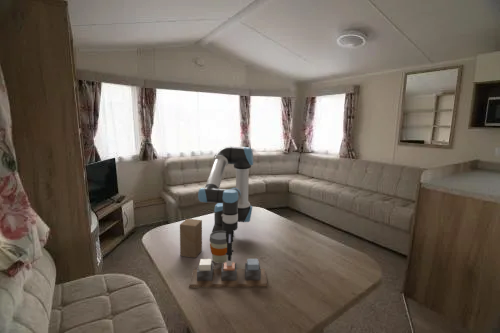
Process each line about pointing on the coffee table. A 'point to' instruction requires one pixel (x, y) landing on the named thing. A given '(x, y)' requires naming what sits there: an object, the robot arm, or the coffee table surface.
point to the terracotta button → (229, 267)
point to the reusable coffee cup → (218, 246)
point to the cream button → (205, 265)
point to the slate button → (252, 264)
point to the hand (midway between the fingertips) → (229, 265)
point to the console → (228, 277)
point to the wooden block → (190, 238)
